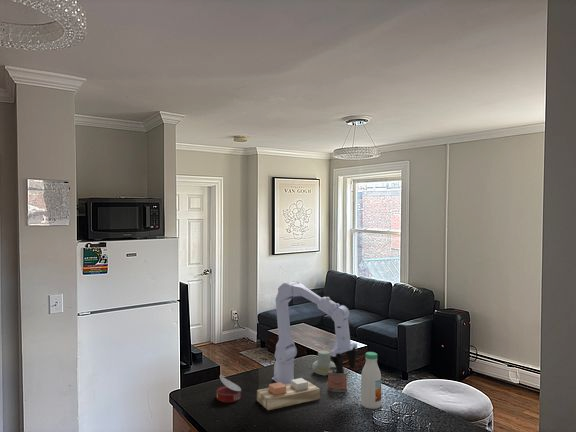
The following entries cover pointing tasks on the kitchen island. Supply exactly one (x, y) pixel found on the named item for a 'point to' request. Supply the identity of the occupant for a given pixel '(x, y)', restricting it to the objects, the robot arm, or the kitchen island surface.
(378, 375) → the milk bottle
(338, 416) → the kitchen island surface
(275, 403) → the button panel
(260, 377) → the kitchen island surface
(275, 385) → the terracotta button
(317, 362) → the pale green jug
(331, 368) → the lighter
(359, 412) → the kitchen island surface
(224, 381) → the canned food
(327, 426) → the kitchen island surface
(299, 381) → the grey button
